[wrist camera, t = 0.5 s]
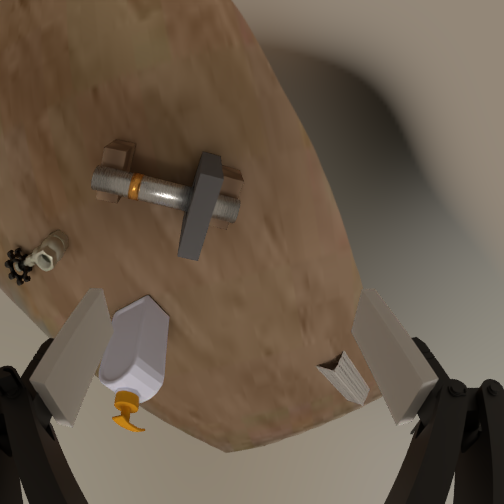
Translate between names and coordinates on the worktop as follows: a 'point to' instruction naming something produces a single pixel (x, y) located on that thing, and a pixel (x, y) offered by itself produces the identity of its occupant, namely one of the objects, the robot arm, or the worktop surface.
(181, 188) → the pipe
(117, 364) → the soap bottle
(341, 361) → the corner bead
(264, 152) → the worktop surface
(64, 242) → the valve
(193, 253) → the collar
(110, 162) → the saddles
